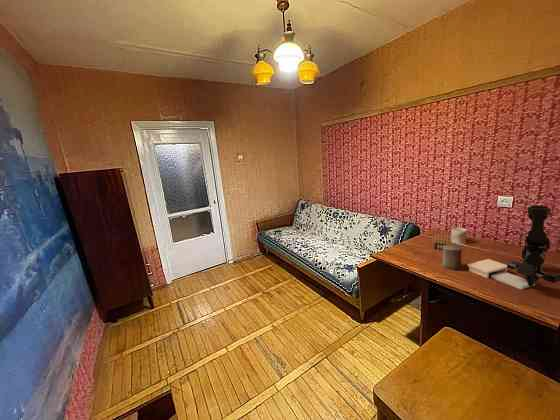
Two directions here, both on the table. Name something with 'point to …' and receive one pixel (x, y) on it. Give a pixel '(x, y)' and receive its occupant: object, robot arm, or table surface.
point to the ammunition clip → (442, 242)
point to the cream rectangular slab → (486, 267)
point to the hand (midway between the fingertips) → (530, 286)
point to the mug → (458, 235)
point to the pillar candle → (452, 257)
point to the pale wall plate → (511, 280)
